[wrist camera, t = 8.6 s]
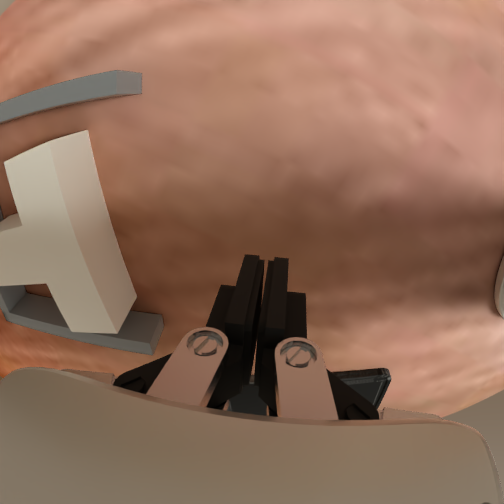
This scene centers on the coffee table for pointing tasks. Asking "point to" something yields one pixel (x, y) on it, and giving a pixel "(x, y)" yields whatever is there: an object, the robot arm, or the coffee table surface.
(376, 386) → the phone
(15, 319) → the bay
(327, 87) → the coffee table surface
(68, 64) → the coffee table surface
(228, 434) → the robot arm
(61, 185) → the t block
